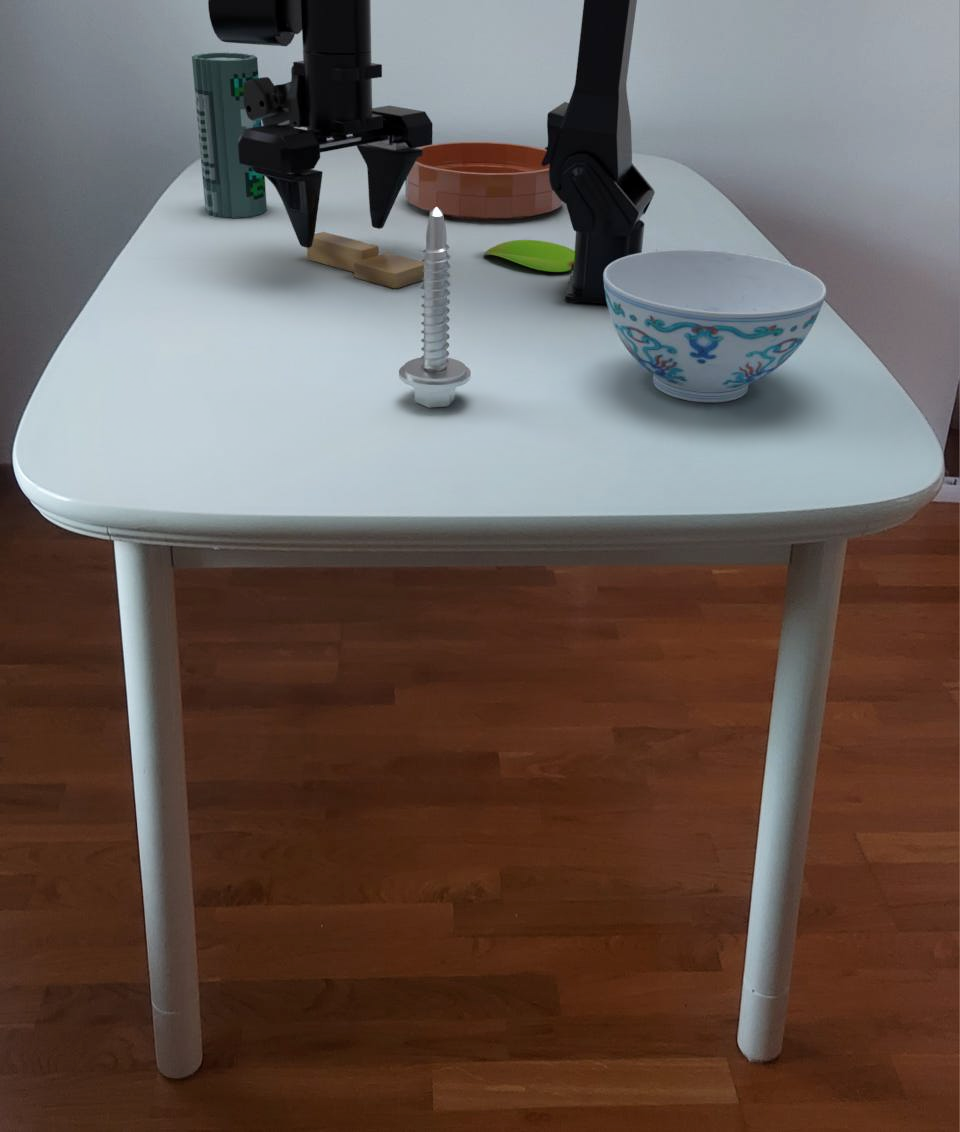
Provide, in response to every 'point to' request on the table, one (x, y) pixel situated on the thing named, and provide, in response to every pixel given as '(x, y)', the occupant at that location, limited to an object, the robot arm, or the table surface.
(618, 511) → the table surface
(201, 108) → the can
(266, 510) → the table surface
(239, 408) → the table surface
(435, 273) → the screw
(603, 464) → the table surface
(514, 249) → the decorative leaf
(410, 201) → the bowl
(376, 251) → the stepped wooden block
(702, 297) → the chinaware
